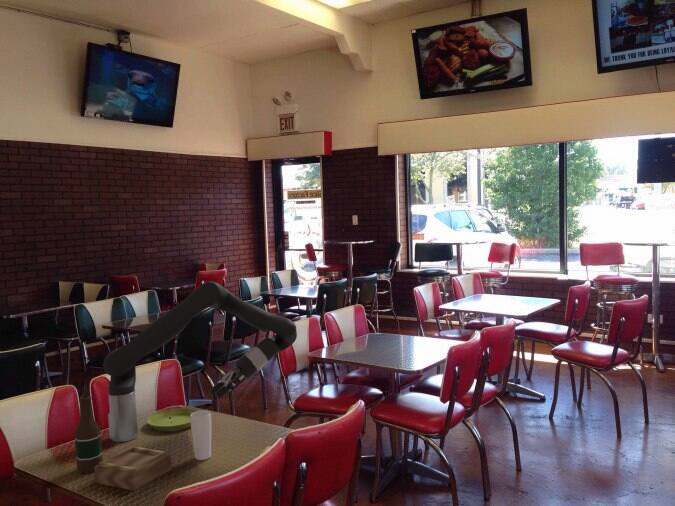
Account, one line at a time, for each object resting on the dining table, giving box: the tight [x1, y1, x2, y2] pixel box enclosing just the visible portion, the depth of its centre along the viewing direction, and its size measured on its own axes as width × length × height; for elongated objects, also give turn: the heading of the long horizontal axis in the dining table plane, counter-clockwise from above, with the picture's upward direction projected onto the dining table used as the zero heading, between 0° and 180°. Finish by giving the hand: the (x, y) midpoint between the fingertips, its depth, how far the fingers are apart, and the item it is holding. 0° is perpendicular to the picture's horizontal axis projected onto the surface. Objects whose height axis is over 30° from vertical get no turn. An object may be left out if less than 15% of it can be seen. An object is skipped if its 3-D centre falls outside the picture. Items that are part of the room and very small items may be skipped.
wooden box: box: [94, 445, 172, 492], centre depth 187 cm, size 16×16×6 cm
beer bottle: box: [74, 395, 104, 474], centre depth 193 cm, size 8×8×24 cm
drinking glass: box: [190, 410, 213, 461], centre depth 198 cm, size 7×7×15 cm
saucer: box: [146, 408, 198, 432], centre depth 233 cm, size 21×21×3 cm
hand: (214, 394), depth 198 cm, fingers open, 8 cm apart
